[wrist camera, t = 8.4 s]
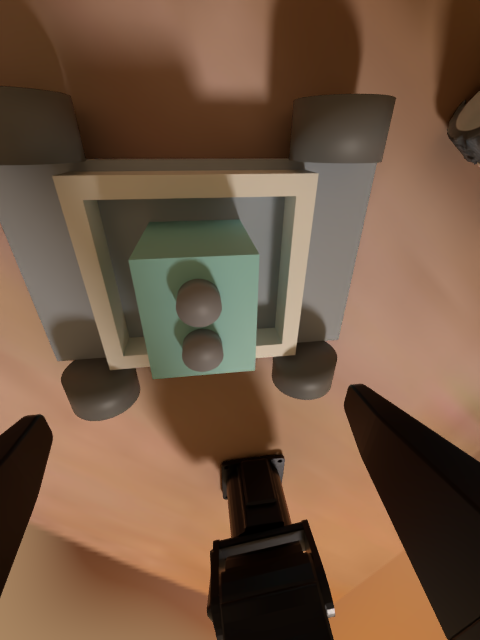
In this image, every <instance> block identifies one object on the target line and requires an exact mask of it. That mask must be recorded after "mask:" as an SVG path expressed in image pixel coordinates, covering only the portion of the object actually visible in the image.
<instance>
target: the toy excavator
mask: <svg viewBox="0 0 480 640" xmlns="http://www.w3.org/2000/svg"><path fill="white" fill-rule="evenodd" d="M465 102H466V100H464V101H463V102H462V103H461V105H460V106H459V107H458V108H457V111H456V112H455V113H454V116H453V117H452V119H451V120H450V122H449V126H448V129H447V131H448V132H447V134H448V137H449V138H450V140H451V141H452V142H453V143H454V145H455V146H456V147H457V149H458V150H459V151H460V152H461V153H462V155H463V156H464V158H465V159H466V160H467V161H468V162H472V163H474V164H477V165H478V166H479V167H480V91H479V92H478V93H477V94H476V95H475V96H474V97H473V98H471V99H470V101H469V102H468V103H467V104H465Z"/></svg>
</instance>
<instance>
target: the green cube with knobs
mask: <svg viewBox="0 0 480 640" xmlns="http://www.w3.org/2000/svg"><path fill="white" fill-rule="evenodd" d="M259 255H260V254H259V253H258V251H257V249H256V247H255V246H254V244H253V242H252V240H251V239H250V237H249V235H248V233H247V231H246V230H245V228H244V226H243V224H242V223H241V221H240V219H239V220H203V221H167V222H149V223H148V225H147V227H146V229H145V231H144V232H143V234H142V236H141V238H140V240H139V241H138V243H137V245H136V247H135V249H134V251H133V252H132V254H131V256H130V258H129V260H128V261H129V265H130V270H131V275H132V280H133V285H134V290H135V295H136V300H137V305H138V310H139V314H140V319H141V324H142V329H143V334H144V339H145V344H146V349H147V354H148V358H149V363H150V368H151V373H152V378H153V379H162V378H174V377H185V376H197V375H208V374H220V373H231V372H243V371H254V370H255V358H256V332H257V307H258V281H259Z"/></svg>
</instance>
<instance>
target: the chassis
mask: <svg viewBox="0 0 480 640" xmlns="http://www.w3.org/2000/svg"><path fill="white" fill-rule="evenodd" d="M395 100H396V97H393V96H389V95H379V94H334V95H319V96H310V97H303V98H299V99H296V100H294V104H293V116H292V129H291V141H290V154H289V158H188V159H86V158H85V154H84V150H83V146H82V142H81V137H80V133H79V129H78V125H77V121H76V116H75V112H74V108H73V104H72V100H71V96H69V95H67V94H63V93H58V92H53V91H46V90H39V89H30V88H19V87H7V86H0V223H1V226H2V228H3V230H4V233H5V235H6V238H7V240H8V242H9V245H10V247H11V250H12V252H13V255H14V257H15V259H16V262H17V264H18V267H19V269H20V272H21V274H22V276H23V279H24V281H25V284H26V286H27V289H28V291H29V293H30V296H31V298H32V301H33V303H34V305H35V308H36V310H37V313H38V315H39V318H40V320H41V322H42V325H43V327H44V330H45V332H46V335H47V337H48V339H49V342H50V344H51V347H52V349H53V352H54V354H55V356H56V359H57V361H66V360H74V361H73V362H72V363H71V364H70V365H68V366H67V368H66V369H65V370H64V372H63V374H62V377H61V383H62V385H63V388H64V390H65V393H66V395H67V397H68V400H69V402H70V404H71V407H72V409H73V411H74V413H75V414H76V415H77V416H78V417H79V418H81V419H84V420H88V421H101V420H106V419H110V418H113V417H115V416H117V415H119V414H121V413H123V412H124V411H126V410H127V409H129V408H130V407H131V406H132V405H133V404H134V403H135V401H136V400H137V398H138V396H139V393H140V385H139V381H138V377H137V372H136V368H142V367H150V363H149V358H148V354H147V349H146V344H145V339H144V334H143V329H142V324H141V319H140V314H139V310H138V305H137V300H136V295H135V290H134V285H133V280H132V275H131V270H130V265H129V261H128V260H129V258H130V256H131V254H132V252H133V251H134V249H135V247H136V245H137V243H138V241H139V240H140V238H141V236H142V234H143V232H144V231H145V229H146V227H147V225H148V223H149V222H167V221H203V220H239V219H240V221H241V223H242V224H243V226H244V228H245V230H246V231H247V233H248V235H249V237H250V239H251V240H252V242H253V244H254V246H255V247H256V249H257V251H258V253H259V254H260V255H259V281H258V307H257V332H256V358H264V357H273V367H272V380H273V383H274V384H275V386H276V387H277V388H278V389H279V390H280V391H281V392H283V393H284V394H286V395H288V396H290V397H293V398H297V399H302V400H312V399H317V398H320V397H322V396H324V395H325V394H326V393H327V392H328V391H329V390H330V388H331V384H332V380H333V375H334V371H335V366H336V362H337V354H336V352H335V350H334V349H333V347H332V346H331V345H329V344H328V343H327V342H325V341H327V340H338V339H339V334H340V329H341V325H342V320H343V316H344V311H345V306H346V302H347V297H348V293H349V288H350V284H351V279H352V274H353V270H354V265H355V261H356V256H357V251H358V247H359V242H360V238H361V233H362V229H363V224H364V219H365V215H366V210H367V206H368V201H369V196H370V192H371V187H372V183H373V178H374V174H375V169H376V164H377V163H378V162H382V158H383V153H384V149H385V144H386V140H387V136H388V131H389V127H390V122H391V118H392V113H393V109H394V104H395Z"/></svg>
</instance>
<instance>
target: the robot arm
mask: <svg viewBox="0 0 480 640" xmlns="http://www.w3.org/2000/svg"><path fill="white" fill-rule="evenodd" d="M344 409H345V413H346V415H347V418H348V421H349V424H350V427H351V430H352V432H353V435H354V438H355V441H356V444H357V447H358V449H359V452H360V455H361V457H362V459H363V462H364V464H365V466H366V468H367V470H368V472H369V475H370V477H371V479H372V481H373V483H374V485H375V487H376V489H377V492H378V494H379V496H380V498H381V500H382V502H383V504H384V506H385V508H386V511H387V513H388V515H389V517H390V519H391V521H392V523H393V525H394V528H395V530H396V532H397V534H398V536H399V538H400V540H401V542H402V544H403V547H404V549H405V551H406V553H407V555H408V557H409V559H410V561H411V564H412V566H413V568H414V570H415V572H416V574H417V576H418V578H419V580H420V583H421V585H422V587H423V589H424V591H425V593H426V595H427V597H428V599H429V602H430V604H431V606H432V608H433V610H434V612H435V614H436V616H437V619H438V621H439V622H440V625H441V627H442V629H443V631H444V633H445V636H446V637H447V639H448V640H480V462H479V461H477V460H476V459H474V458H473V457H471V456H470V455H468V454H467V453H465V452H464V451H462V450H461V449H459V448H458V447H456V446H455V445H453V444H452V443H450V442H449V441H447V440H446V439H444V438H443V437H441V436H440V435H439V434H437V433H436V432H434V431H433V430H431V429H430V428H428V427H427V426H425V425H424V424H422V423H421V422H419V421H418V420H416V419H415V418H413V417H412V416H410V415H409V414H407V413H406V412H404V411H403V410H401V409H400V408H398V407H397V406H395V405H394V404H392V403H391V402H389V401H388V400H386V399H385V398H383V397H382V396H380V395H379V394H378V393H376V392H375V391H373V390H372V389H370V388H369V387H367V386H366V385H364V384H353V385H350V386H349V387H348V390H347V394H346V397H345V401H344ZM52 441H53V435H52V431H51V429H50V427H49V425H48V424H47V422H46V420H45V418H44V416H43V415H40V414H38V415H27V416H24V417H23V418H21V419H20V420H19V421H18V422H16V423H15V424H14V425H13V426H11V427H10V428H9V429H8V430H6V431H5V432H4V433H3V434H1V435H0V596H1V594H2V591H3V589H4V586H5V583H6V581H7V578H8V575H9V573H10V570H11V567H12V564H13V562H14V559H15V556H16V554H17V551H18V548H19V546H20V543H21V541H22V538H23V535H24V532H25V530H26V527H27V525H28V522H29V519H30V517H31V514H32V511H33V509H34V506H35V503H36V500H37V497H38V494H39V491H40V487H41V483H42V479H43V476H44V472H45V468H46V464H47V460H48V456H49V453H50V449H51V445H52ZM284 462H285V459H284V456H283V455H272V456H264V457H255V458H247V459H239V460H230V461H224V462H223V463H222V464H221V468H222V488H223V499H226V500H227V499H228V508H229V519H230V530H231V538H229V539H225V540H215V541H213V549H212V550H211V551H210V561H211V577H210V586H209V595H208V604H207V615H208V617H209V618H210V619H211V621H212V622H213V625H214V628H215V632H216V637H217V640H334V639H333V635H332V632H331V628H330V624H329V620H328V618H330V617H334V616H335V611H334V605H333V600H332V596H331V592H330V588H329V585H328V581H327V578H326V574H325V571H324V568H323V565H322V562H321V559H320V556H319V553H318V550H317V547H316V544H315V541H314V538H313V535H312V532H311V529H310V526H309V523H308V521H307V520H302V521H301V522H299V523H295V524H292V523H291V519H290V515H289V512H288V508H287V504H286V500H285V496H284V492H283V488H282V477H283V470H284ZM303 551H306V552H305V553H303Z"/></svg>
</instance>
